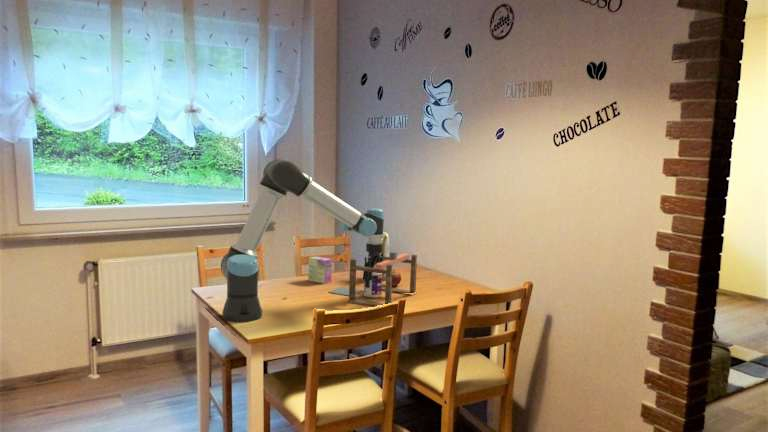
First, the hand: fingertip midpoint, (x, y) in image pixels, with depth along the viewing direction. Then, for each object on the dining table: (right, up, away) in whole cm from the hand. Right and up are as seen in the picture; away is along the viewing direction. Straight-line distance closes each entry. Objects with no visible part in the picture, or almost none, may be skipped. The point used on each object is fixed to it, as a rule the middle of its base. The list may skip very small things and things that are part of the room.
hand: (373, 292), depth 263 cm
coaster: (-13, -1, +6) cm, 14 cm away
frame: (+5, -2, -2) cm, 6 cm away
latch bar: (+9, +13, -6) cm, 17 cm away
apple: (+9, 0, +21) cm, 23 cm away
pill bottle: (0, -2, 0) cm, 2 cm away
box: (-27, +2, +25) cm, 36 cm away
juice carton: (+3, +2, +35) cm, 36 cm away
